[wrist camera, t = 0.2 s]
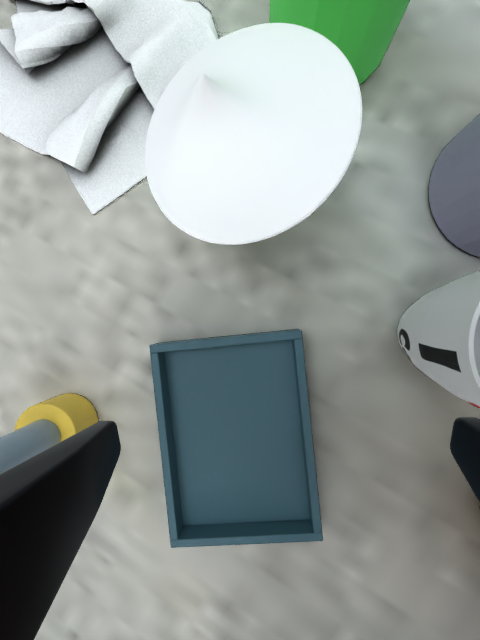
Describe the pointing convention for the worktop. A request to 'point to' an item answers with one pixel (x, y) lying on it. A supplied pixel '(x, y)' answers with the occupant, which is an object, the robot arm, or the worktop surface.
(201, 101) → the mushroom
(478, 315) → the cup
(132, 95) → the cloth
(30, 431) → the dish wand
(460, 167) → the container
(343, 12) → the bottle
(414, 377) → the worktop surface
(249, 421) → the tray
